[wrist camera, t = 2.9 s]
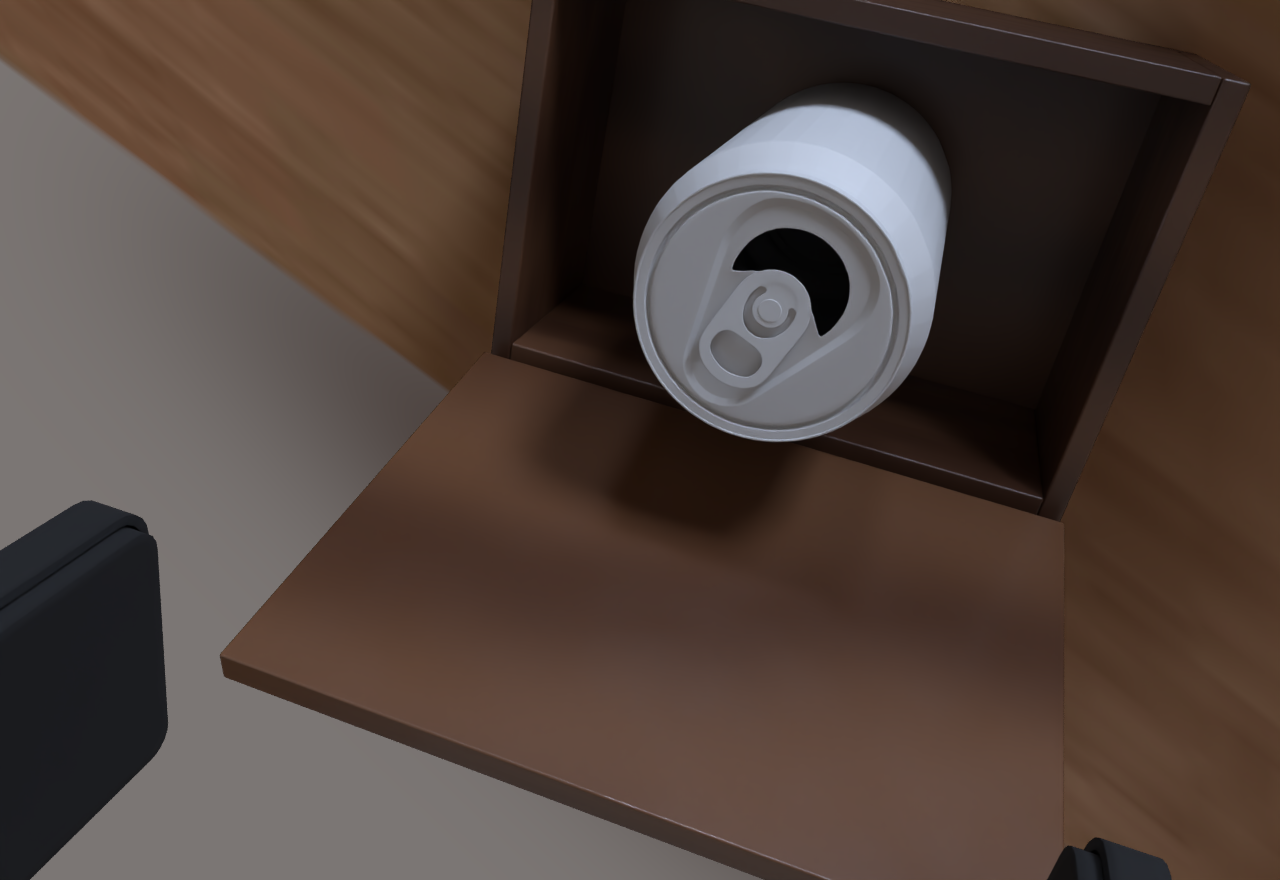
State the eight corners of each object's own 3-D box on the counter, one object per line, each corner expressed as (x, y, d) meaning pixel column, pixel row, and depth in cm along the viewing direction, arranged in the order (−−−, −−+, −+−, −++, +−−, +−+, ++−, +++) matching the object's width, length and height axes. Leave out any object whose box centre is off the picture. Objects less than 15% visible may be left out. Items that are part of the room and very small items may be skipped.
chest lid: (218, 654, 20) (222, 677, 21) (1064, 968, 17) (1049, 988, 18) (484, 350, 29) (483, 371, 30) (1065, 522, 26) (1055, 542, 27)
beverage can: (1000, 169, 29) (1006, 291, 19) (857, 335, 33) (796, 516, 22) (822, 32, 29) (730, 79, 19) (695, 212, 33) (559, 337, 22)
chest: (623, -67, 30) (538, -70, 25) (1198, 54, 27) (1253, 84, 22) (569, 290, 36) (489, 356, 30) (1046, 423, 33) (1059, 525, 27)
